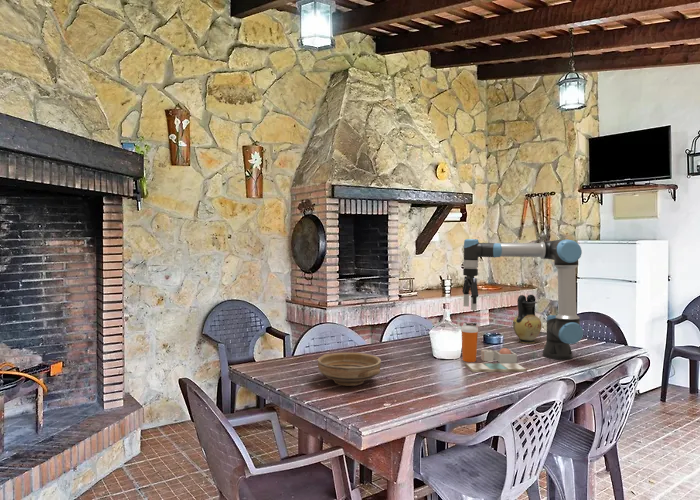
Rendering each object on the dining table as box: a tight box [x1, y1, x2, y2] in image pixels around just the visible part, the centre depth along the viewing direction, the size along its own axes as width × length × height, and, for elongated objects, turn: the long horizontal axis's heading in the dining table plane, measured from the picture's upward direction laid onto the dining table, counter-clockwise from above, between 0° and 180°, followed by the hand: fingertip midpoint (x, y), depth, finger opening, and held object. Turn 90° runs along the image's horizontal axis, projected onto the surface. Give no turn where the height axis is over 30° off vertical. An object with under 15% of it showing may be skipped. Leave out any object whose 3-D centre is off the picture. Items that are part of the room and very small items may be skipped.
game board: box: [464, 362, 528, 373], centre depth 249 cm, size 27×12×1 cm, turn 93°
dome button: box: [498, 347, 512, 354], centre depth 265 cm, size 6×6×6 cm
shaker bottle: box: [460, 321, 479, 363], centre depth 265 cm, size 9×9×20 cm
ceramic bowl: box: [316, 352, 382, 387], centre depth 223 cm, size 37×29×10 cm
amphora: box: [512, 294, 542, 344], centre depth 315 cm, size 18×17×30 cm
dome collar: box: [493, 350, 518, 364], centre depth 265 cm, size 9×9×4 cm
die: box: [480, 349, 494, 362], centre depth 267 cm, size 5×5×5 cm
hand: (469, 308), depth 265 cm, fingers open, 13 cm apart
